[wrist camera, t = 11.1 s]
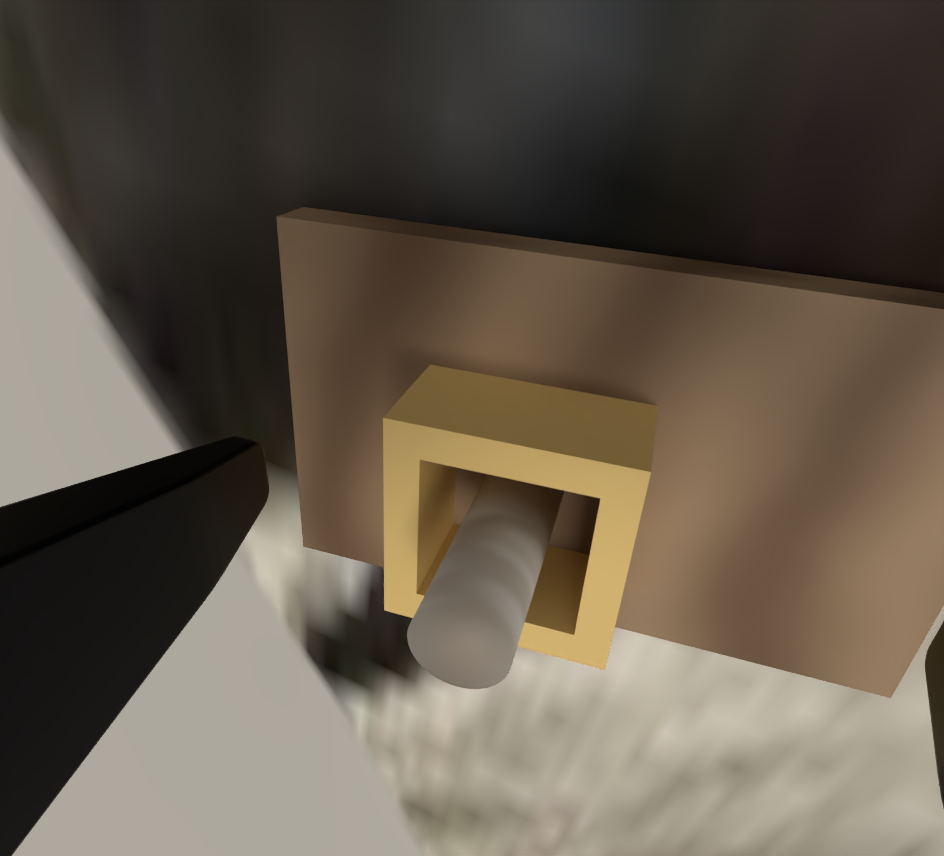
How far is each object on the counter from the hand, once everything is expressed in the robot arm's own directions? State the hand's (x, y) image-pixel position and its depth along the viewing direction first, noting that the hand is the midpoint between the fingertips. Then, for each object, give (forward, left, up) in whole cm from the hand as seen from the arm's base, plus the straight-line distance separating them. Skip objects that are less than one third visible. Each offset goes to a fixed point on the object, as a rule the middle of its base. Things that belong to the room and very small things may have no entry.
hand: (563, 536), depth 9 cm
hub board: (0, +5, -11) cm, 12 cm away
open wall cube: (+2, +6, -10) cm, 12 cm away
